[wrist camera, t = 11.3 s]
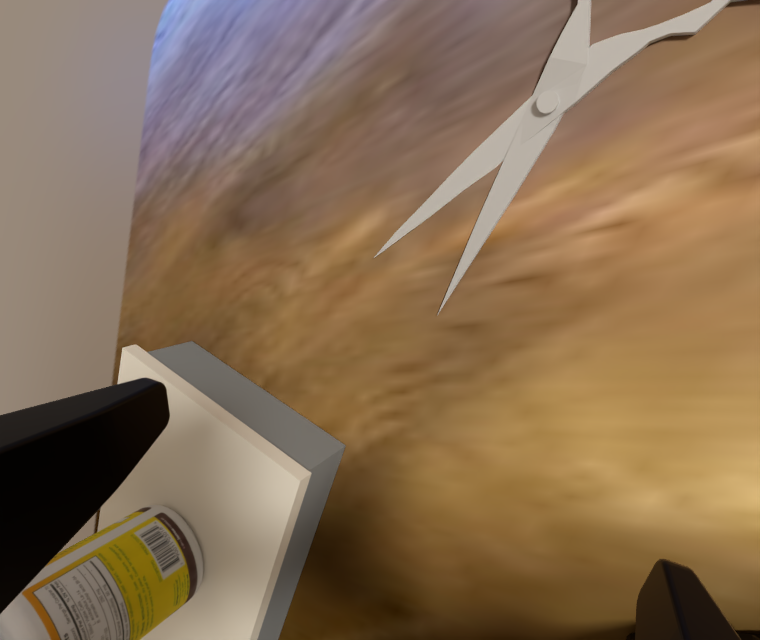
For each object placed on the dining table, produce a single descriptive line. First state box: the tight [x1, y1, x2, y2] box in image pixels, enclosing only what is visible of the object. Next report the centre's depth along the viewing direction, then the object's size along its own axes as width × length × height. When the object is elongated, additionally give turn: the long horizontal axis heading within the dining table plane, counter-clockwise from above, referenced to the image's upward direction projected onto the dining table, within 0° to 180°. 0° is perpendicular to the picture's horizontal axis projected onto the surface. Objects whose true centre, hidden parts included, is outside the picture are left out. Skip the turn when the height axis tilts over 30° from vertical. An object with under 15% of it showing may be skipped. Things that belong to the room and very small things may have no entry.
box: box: [97, 341, 346, 640], centre depth 29 cm, size 13×19×4 cm
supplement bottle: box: [0, 505, 203, 640], centre depth 23 cm, size 6×6×10 cm
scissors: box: [374, 0, 746, 315], centre depth 18 cm, size 11×1×20 cm
